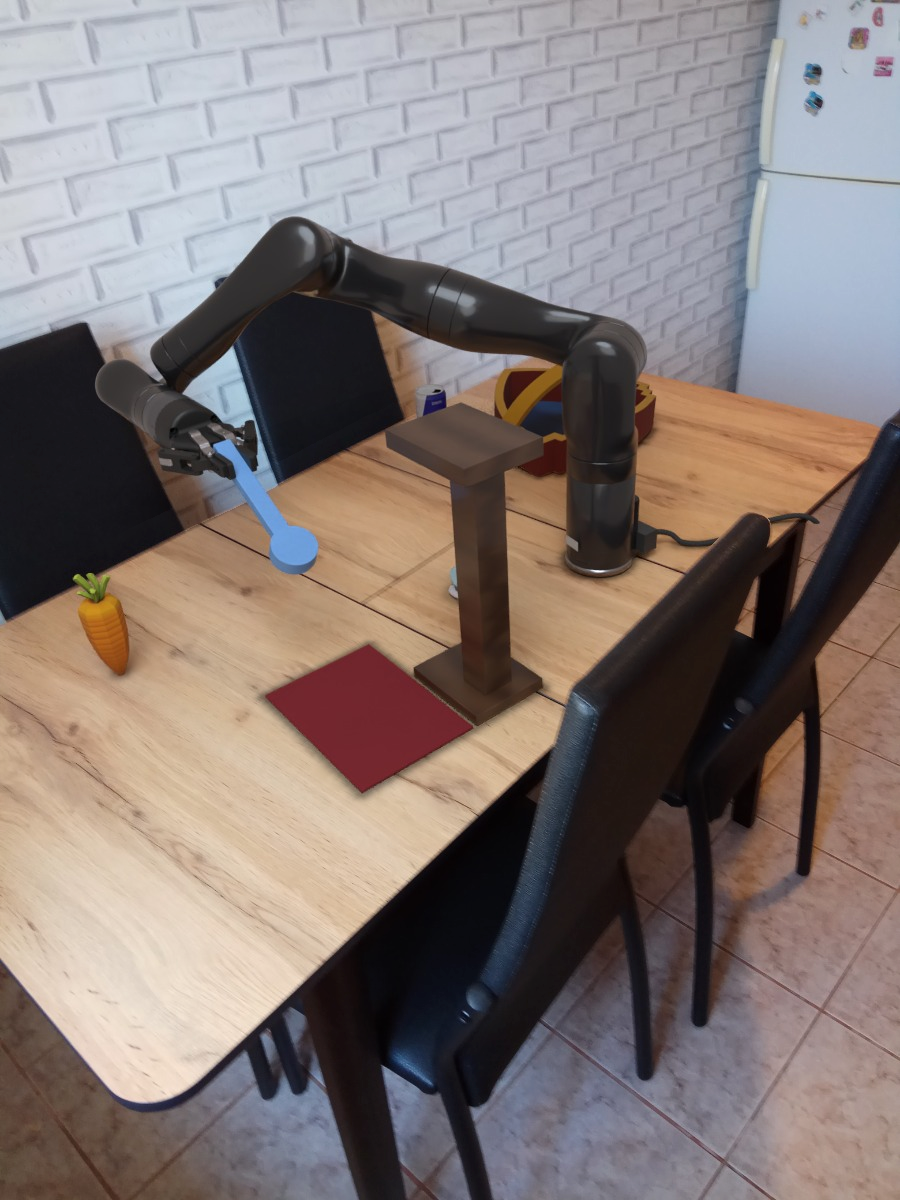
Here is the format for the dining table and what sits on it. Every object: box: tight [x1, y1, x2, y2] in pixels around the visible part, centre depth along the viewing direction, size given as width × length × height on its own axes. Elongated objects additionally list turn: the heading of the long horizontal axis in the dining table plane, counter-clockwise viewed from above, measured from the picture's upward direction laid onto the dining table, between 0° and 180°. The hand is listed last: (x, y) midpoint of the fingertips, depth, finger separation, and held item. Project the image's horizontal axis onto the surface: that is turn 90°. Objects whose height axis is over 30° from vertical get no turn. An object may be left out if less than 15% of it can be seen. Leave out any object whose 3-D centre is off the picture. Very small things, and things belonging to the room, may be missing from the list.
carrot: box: [72, 572, 130, 676], centre depth 112 cm, size 5×5×15 cm
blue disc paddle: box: [213, 439, 319, 576], centre depth 108 cm, size 5×20×2 cm, turn 38°
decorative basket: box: [493, 364, 657, 478], centre depth 163 cm, size 34×29×15 cm
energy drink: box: [414, 383, 448, 418], centre depth 161 cm, size 5×5×12 cm
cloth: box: [264, 643, 474, 794], centre depth 107 cm, size 15×21×1 cm
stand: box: [384, 402, 543, 727], centre depth 102 cm, size 10×13×32 cm
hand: (242, 467), depth 108 cm, fingers closed on blue disc paddle, 2 cm apart
